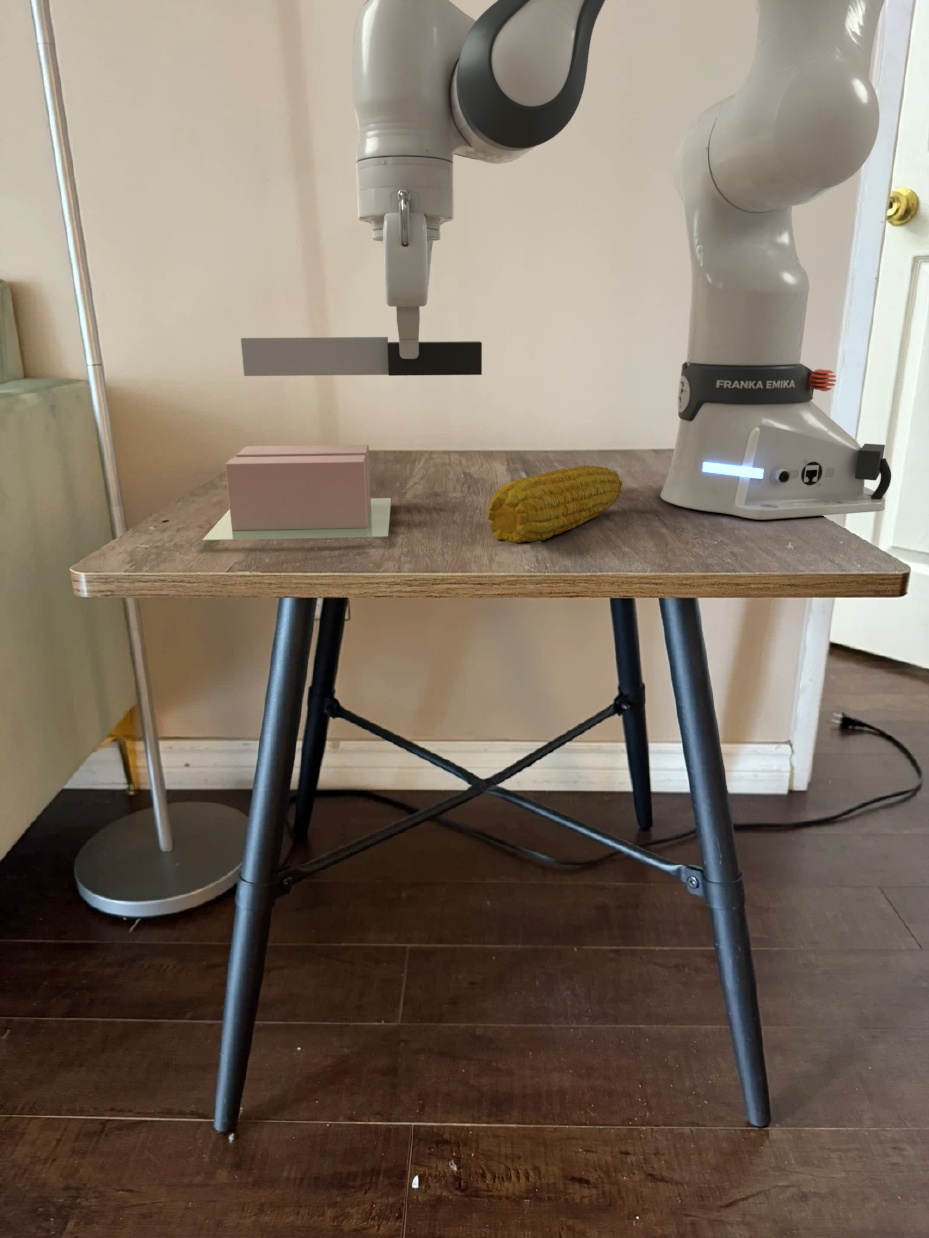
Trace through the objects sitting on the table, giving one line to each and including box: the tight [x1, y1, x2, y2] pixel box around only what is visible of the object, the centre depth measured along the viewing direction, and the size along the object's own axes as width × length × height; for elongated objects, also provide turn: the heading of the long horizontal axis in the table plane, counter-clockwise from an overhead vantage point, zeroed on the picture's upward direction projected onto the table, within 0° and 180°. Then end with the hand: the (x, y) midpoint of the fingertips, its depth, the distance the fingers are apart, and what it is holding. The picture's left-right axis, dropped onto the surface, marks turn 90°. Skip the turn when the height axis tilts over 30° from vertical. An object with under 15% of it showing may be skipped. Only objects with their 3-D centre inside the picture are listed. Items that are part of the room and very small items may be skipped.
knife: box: [240, 336, 483, 377], centre depth 83 cm, size 23×3×4 cm, turn 92°
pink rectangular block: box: [235, 444, 372, 515], centre depth 83 cm, size 12×5×6 cm, turn 94°
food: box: [487, 464, 623, 544], centre depth 80 cm, size 21×6×6 cm, turn 148°
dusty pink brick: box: [224, 455, 368, 531], centre depth 78 cm, size 12×4×6 cm, turn 94°
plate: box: [202, 497, 392, 541], centre depth 82 cm, size 16×16×1 cm
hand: (409, 357), depth 83 cm, fingers closed on knife, 2 cm apart
